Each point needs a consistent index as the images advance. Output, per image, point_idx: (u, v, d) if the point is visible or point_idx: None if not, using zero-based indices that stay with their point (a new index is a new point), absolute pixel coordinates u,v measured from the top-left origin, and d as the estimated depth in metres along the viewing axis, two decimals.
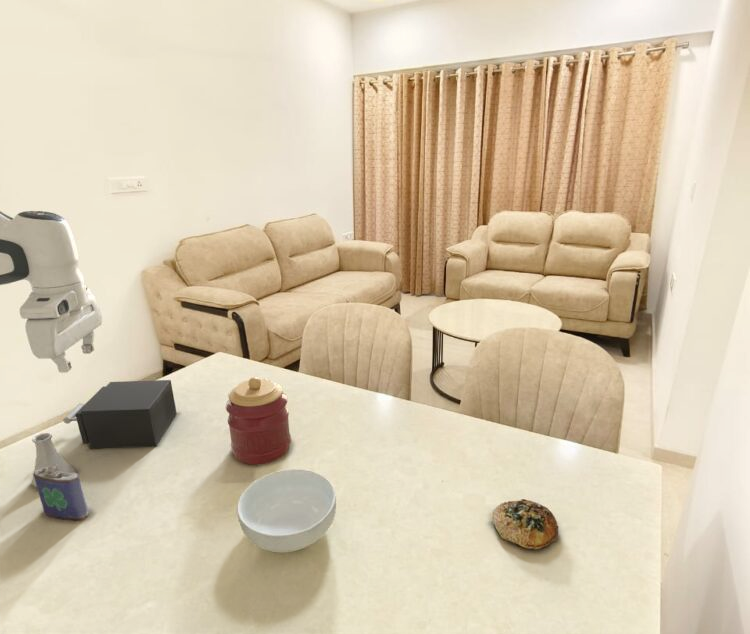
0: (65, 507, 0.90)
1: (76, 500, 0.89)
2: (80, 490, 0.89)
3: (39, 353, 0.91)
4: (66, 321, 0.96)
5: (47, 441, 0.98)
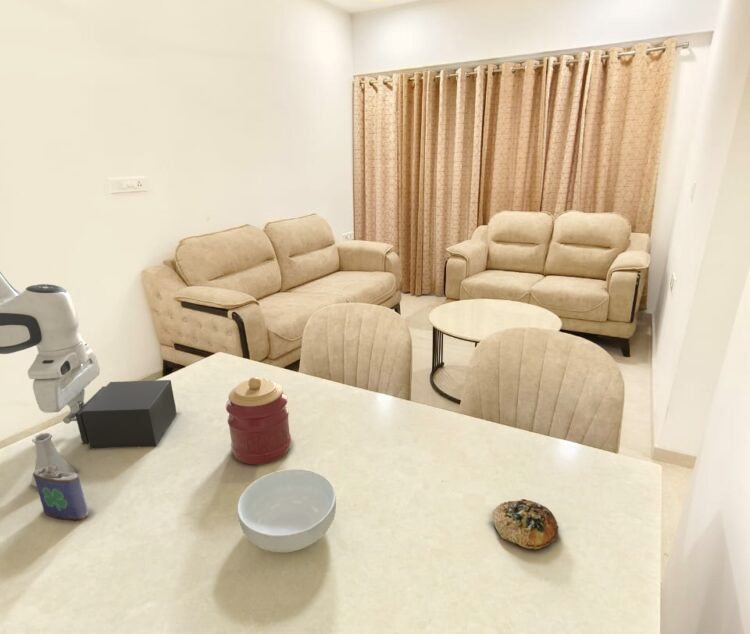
0: (65, 507, 0.90)
1: (76, 500, 0.89)
2: (80, 490, 0.89)
3: (45, 409, 1.05)
4: (68, 377, 1.11)
5: (47, 441, 0.98)
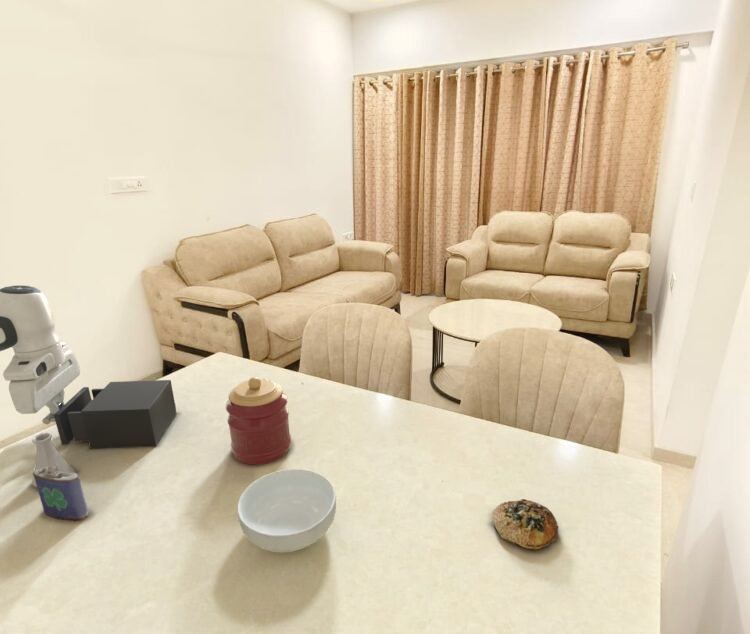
0: (65, 507, 0.90)
1: (76, 500, 0.89)
2: (80, 490, 0.89)
3: (21, 410, 1.05)
4: (46, 378, 1.10)
5: (47, 441, 0.98)
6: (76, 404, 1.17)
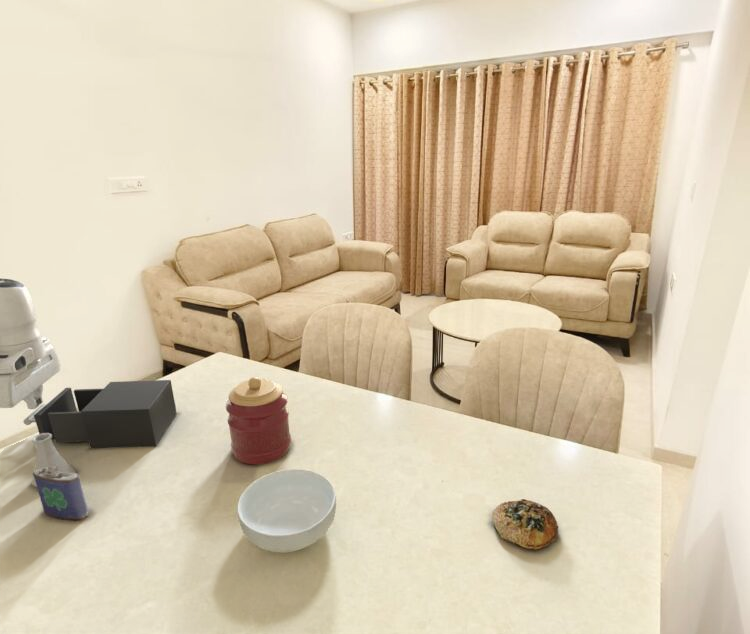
0: (65, 507, 0.90)
1: (76, 500, 0.89)
2: (80, 490, 0.89)
3: None
4: (24, 373, 1.10)
5: (47, 441, 0.98)
6: (58, 405, 1.16)
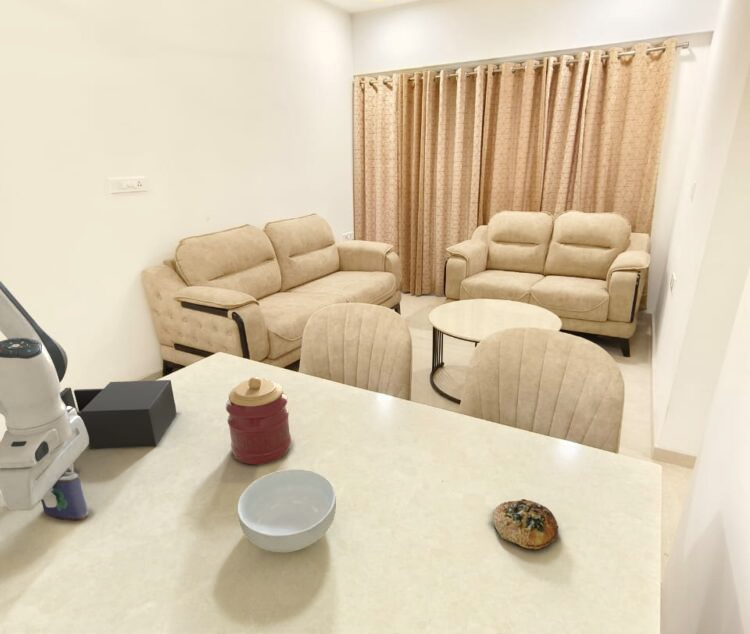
0: (65, 507, 0.90)
1: (76, 500, 0.89)
2: (80, 490, 0.89)
3: (14, 507, 0.79)
4: (47, 460, 0.85)
5: None
6: None
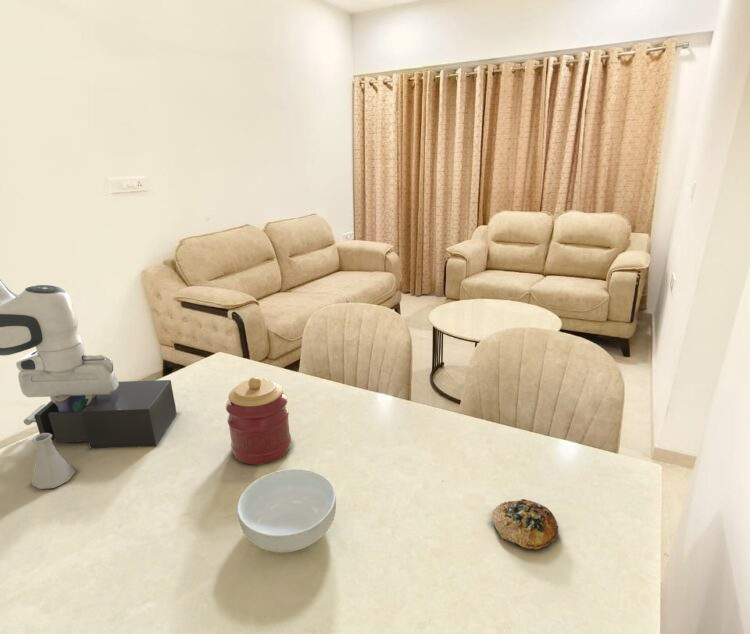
0: None
1: None
2: None
3: None
4: (50, 376, 1.12)
5: (47, 441, 0.98)
6: None
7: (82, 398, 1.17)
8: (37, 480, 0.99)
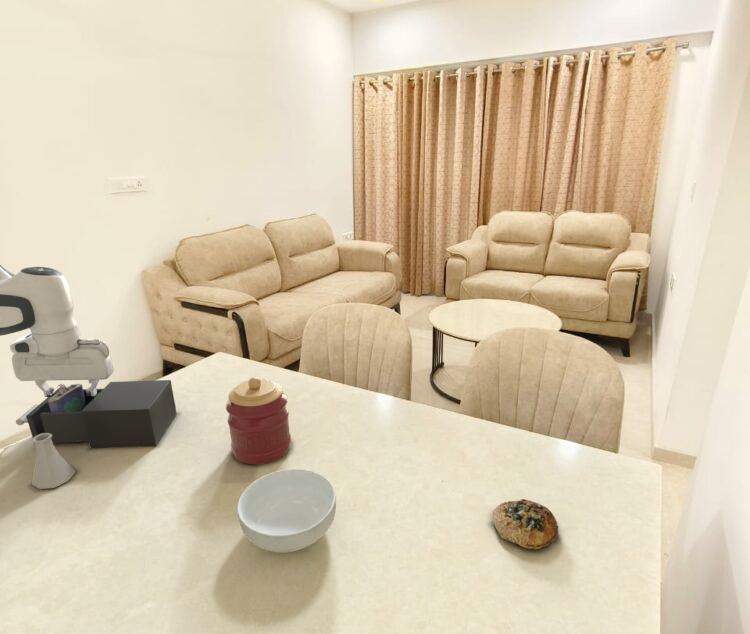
0: None
1: None
2: None
3: None
4: (45, 360, 1.10)
5: (47, 441, 0.98)
6: None
7: (75, 399, 1.17)
8: (37, 480, 0.99)
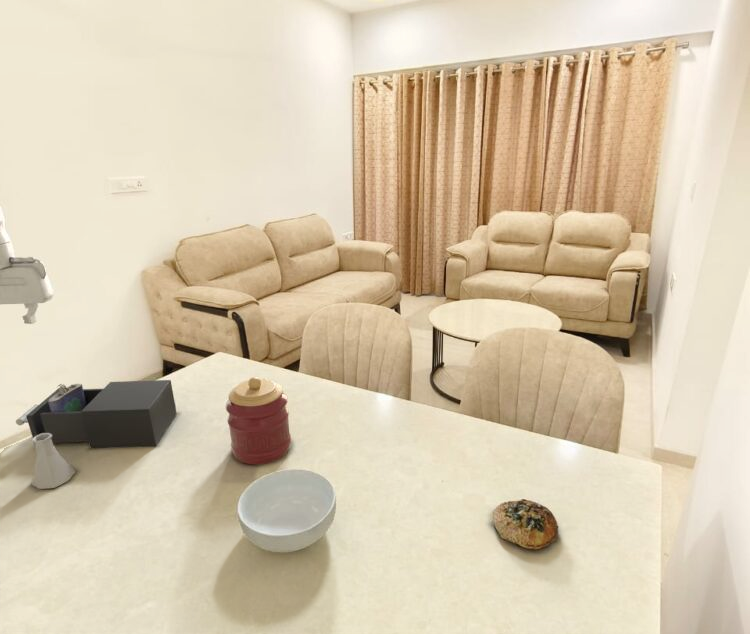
0: None
1: None
2: None
3: None
4: None
5: (47, 441, 0.98)
6: None
7: (75, 399, 1.17)
8: (37, 480, 0.99)
